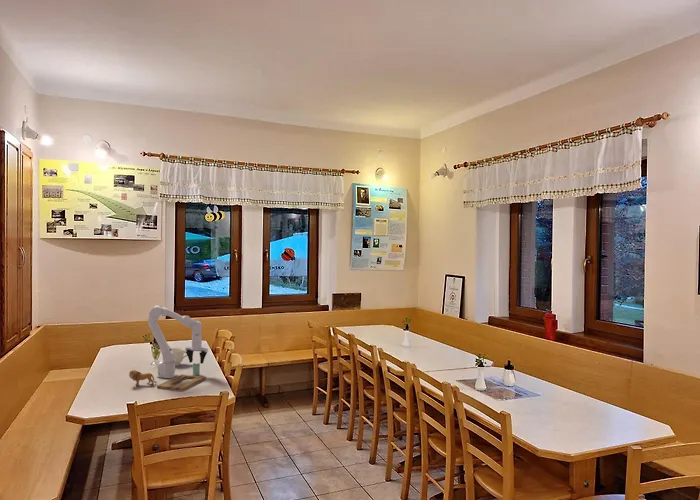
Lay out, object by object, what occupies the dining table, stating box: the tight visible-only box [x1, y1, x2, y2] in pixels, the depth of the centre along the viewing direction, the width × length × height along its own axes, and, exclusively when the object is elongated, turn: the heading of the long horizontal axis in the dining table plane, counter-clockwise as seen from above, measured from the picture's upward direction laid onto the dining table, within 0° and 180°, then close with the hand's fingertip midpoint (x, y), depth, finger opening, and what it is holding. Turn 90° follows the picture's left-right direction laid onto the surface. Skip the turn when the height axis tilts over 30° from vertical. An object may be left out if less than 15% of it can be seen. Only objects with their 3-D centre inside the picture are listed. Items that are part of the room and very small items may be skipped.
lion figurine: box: [128, 369, 157, 387], centre depth 280 cm, size 15×5×9 cm, turn 115°
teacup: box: [170, 347, 188, 367], centre depth 326 cm, size 12×15×10 cm
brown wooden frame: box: [156, 374, 206, 392], centre depth 285 cm, size 16×24×2 cm, turn 166°
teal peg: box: [192, 362, 201, 376], centre depth 302 cm, size 4×4×7 cm
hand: (196, 362), depth 302 cm, fingers open, 7 cm apart
